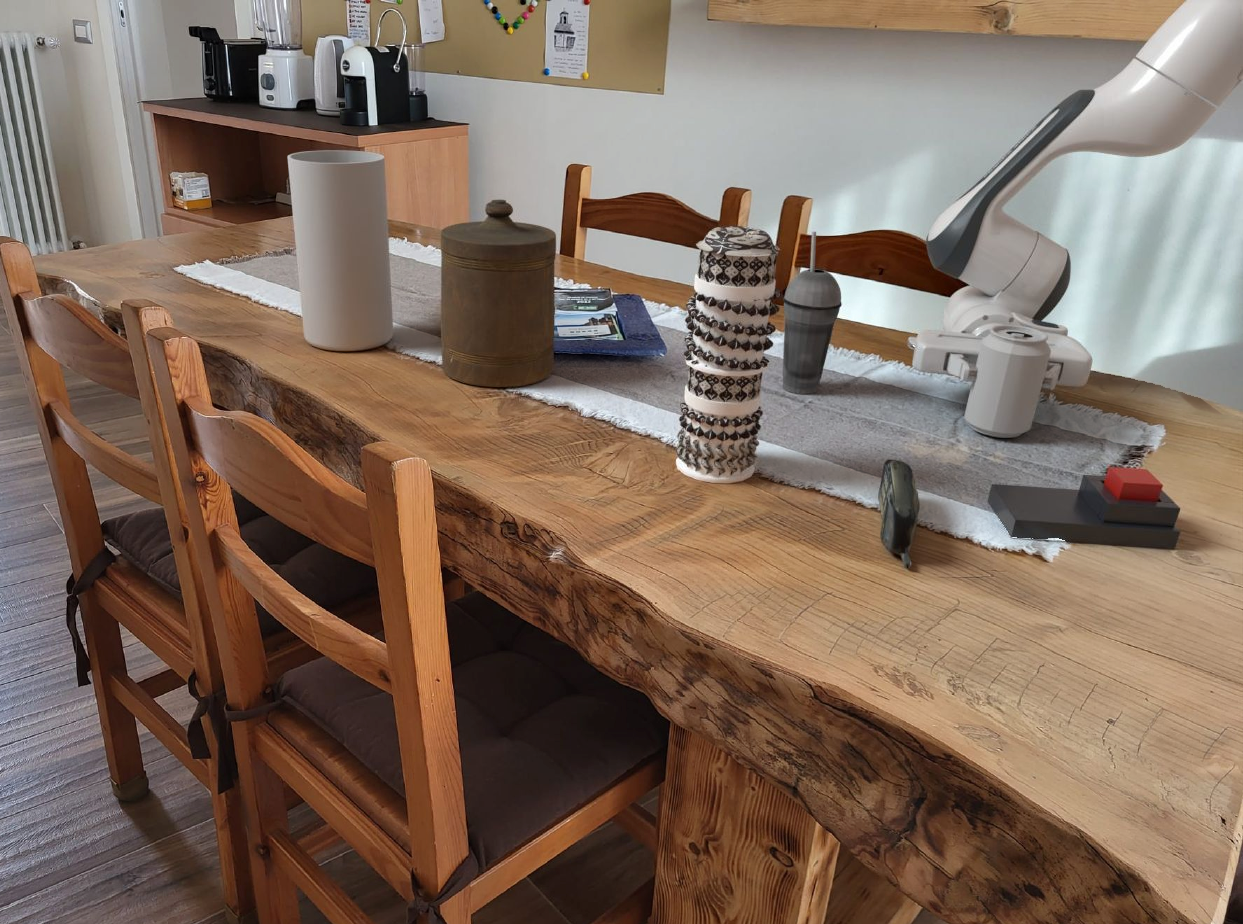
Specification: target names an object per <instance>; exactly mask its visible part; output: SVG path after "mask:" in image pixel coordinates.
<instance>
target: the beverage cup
mask: <svg viewBox="0 0 1243 924" xmlns="http://www.w3.org/2000/svg"><path fill="white" fill-rule="evenodd" d="M816 243H817V231H811V244H810V247H811V248H810V265H809V266H810V268H808V269H805V270H802V271H801V272H799V273H798V274H796V275H795V276H794V277H793V278H792V279H791V280H790V281H789V283H788V284H787V287H786V290H785V292H784V296H783V298H782V301H783V316H784V332H783V353H782V354H783V355H782V389H783V390H785V391H787V392H788V393H792V394H797V395H812V394H816V393H817V392H818V390H819V385H820V381H821V379H822V375H823V372H824V368H825V362H826V360H827V355H828V352H829V347H830V343H831V338H832V334H833V330H834V326H835V324H836V321H837V319H838V316H839V314H840V308H841V307H842V305H843V303H842V291H841V287H840V285H839V283H838V281H837V279H836V278H835V277H834V275H832V274H831V273H830V272H828V271H826V270H825V269H821V268H815V266H816V245H817V244H816Z"/></svg>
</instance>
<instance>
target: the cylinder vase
mask: <svg viewBox="0 0 1243 924" xmlns="http://www.w3.org/2000/svg"><path fill="white" fill-rule="evenodd" d="M385 161H386V160H385V156H384V155H383V154H380V153H376V152H369V151H362V150H361V151H360V150H344V149H343V150H340V149H338V150H336V149H335V150H332V149H331V150H330V149H327V150H326V149H324V150H309V151H299V152H294V153H291V154H288V155H287V165H288V166H287V167H288V178H289V188H290V199H291V210H292V220H293V221H292V222H293V229H294V230H293V231H294V232H293V233H294V243H295V253H296V254H295V255H296V263H297V264H296V265H297V274H298V284H299V285H298V286H299V297H300V307H301V317H302V318H301V319H302V328H303V337H304V340H305V341H306V342H307V343H308V344H309V345H310V346H313V347H315V348H318V349H320V350H326V351H333V352H357V351H366V350H367V351H368V350H371V349H376V348H378V347H381V346H384V345H386V344H387V343H389V342H390V341H391V339H392V338H393V336H394V319H393V318H394V317H393V300H392V299H393V298H392V278H391V263H390V262H391V259H390V242H389V241H390V240H389V222H388V221H389V219H388V203H387V201H388V199H387V184H386V183H387V182H386V181H387V180H386V163H385Z"/></svg>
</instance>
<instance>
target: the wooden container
mask: <svg viewBox="0 0 1243 924" xmlns="http://www.w3.org/2000/svg"><path fill="white" fill-rule="evenodd" d="M484 211H485V214H486V215H487V217H486V218H485V219H484V220H482V221H470V222H468V221H467V222H460V223H455V224H452V225H448V226H446V227H444V228H443V229H442V230H441V231H440V254H441V256H440V257H441V260H440V262H441V263H440V264H441V265H440V278H441V279H440V284H441V285H440V339H441V340H440V341H441V366H442V371H443V373H444V374H445V375H446V376H447V377H448V378H450V379H452V380H454V381H457V382H459V383H463V384H467V385H470V386H471V385H472V386H477V387H484V388H485V387H486V388H514V387H515V388H516V387H523V386H529V385H532V384H535V383H539V382H541V381H544V380H546V379H547V378H548V377H550V376H551V375H552V374H553V371H554V354H555V347H554V343H555V318H556V317H555V316H556V315H555V311H556V310H555V306H556V305H555V260H556V256H557V255H556V254H557V252H556V251H557V234H556V232H555V231H554V230H552V229H551V228H548V227H545V226H542V225H538V224H534V223H527V222H517V221H514V220H513V219H512V218H511V217H510V216H511V215H512V214H513V213H514V208H513V206H512V205H511V204H510V203H508V202H507V200H506V199H492V200H491V201H490V202H488V203H486V204H485V210H484Z"/></svg>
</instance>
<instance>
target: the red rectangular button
mask: <svg viewBox="0 0 1243 924" xmlns="http://www.w3.org/2000/svg"><path fill="white" fill-rule="evenodd" d="M1105 476H1106V478H1105V481H1104V485H1105V486H1106V487H1107V489H1108V490H1109V491H1110V492H1111V493H1112V494H1113V495H1114V496H1115V497H1116V499H1122V500H1137V501H1151V502H1158V499H1159V496H1160V493H1161V490H1163V487H1164V484H1162V482H1161V481H1159V480H1158V478H1157V477H1156V476H1154V475H1153V474H1152V473H1151V472H1150V471H1149V470H1148V469H1147V468H1134V467H1132V468H1131V467H1118V466H1117V467H1116V466H1108V469H1107V471H1106V475H1105Z"/></svg>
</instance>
